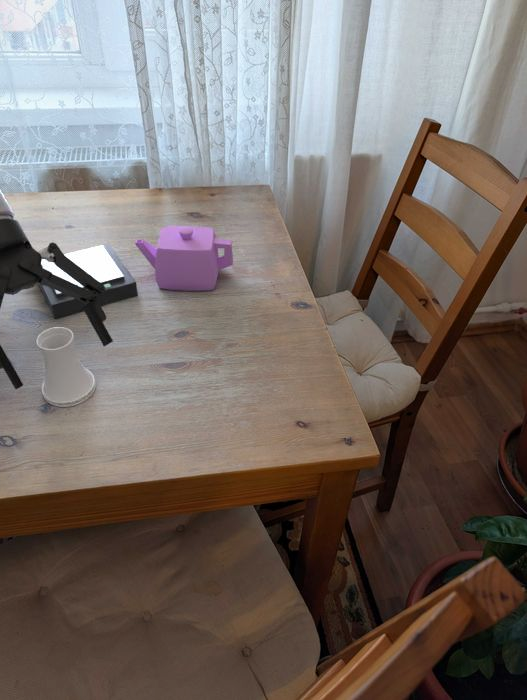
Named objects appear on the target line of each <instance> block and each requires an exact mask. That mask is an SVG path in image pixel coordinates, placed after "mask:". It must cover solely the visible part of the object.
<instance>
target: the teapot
mask: <svg viewBox="0 0 527 700" xmlns="http://www.w3.org/2000/svg"><path fill="white" fill-rule="evenodd" d="M134 245H135V247H137V248H138V250H139V251H140V253H141V254H142V255H143V257H145V259H146V260H147V261H148V263H149V264H150V266H151V267H153V269H154V273H155V281H156V284H157V286H158V288H160V289H162V290H172V291H184V292H186V291H187V292H200V291H205V292H206V291H213V290H215V288H216V284H217V282H218V275H219V271H221V270H222V271H223V270H224V269H226V268H229V267H231V266H233V265H234V255H233V244H232V239H225V238H217V237H216V232H215V229H214V228H212V227H208V226H207V227H205V226H197V225H196V226H195V225H194V226H193V225H165V226H162V227H161V230H160V233H159V237H158V241H157V243H156V248H155V247H154V246H153V245H151V244H150V243H149V242H148V241H145V240H144V238H140V239H136V240H135V242H134ZM219 249H223V255H222V256H220V257H219Z"/></svg>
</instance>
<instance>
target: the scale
mask: <svg viewBox="0 0 527 700" xmlns="http://www.w3.org/2000/svg"><path fill="white" fill-rule="evenodd" d="M63 254H64V255H65V256H66V257H68V258H69V259H70V260H71V261H73V262H74V263H75V264H77V265H78V266H79V267H81V268H82V269H83V270H85V271H86V272H87V273H89V274H90V275H91V276H92V277H94V278H95V279H96V280H98V281H99V282H100V283H102V284H103V285H104V286H105V290H104V291H103V292H102V293H101V294H100V295H99V297H98V302H99V304H100V305H101V307H102V306H106V305H110V304H112V303H115V302H119V301H122V300H127V299H130V298H133V297H138V296H139V294H138V287H137V282H136V280H135V279H134V277H133V275H132V274H131V273H130V271H129V270H128V269H127V267H126V266H125V265H124V263H123V262H122V260H121V259H120V258H119V256H118V255H117V253H116V252H115V250H114V249H113V248H112V247H111V245H110V243H106V244H101V245H97V246H93V247H90V248H85V249H81V250H76V251H73V252H68V253H63ZM41 267H42V268H44V269H46V270H48V271H50V272H51V273H52V274H54V275H56V276H58V277H60V278H63V279H65V280H67V281H69V282H71V283H74V284H76V285H78V286H80V287H82V288H84V289H86V288H85V287H84V286H82V285H81V284H80V283H78V282H77V281H76V280H74V279H73V278H72V277H70V276H69V275H68V274H66V273H65V272H64V271H62V270H61V269H60V268H58V267H57V266H56V265H55V264H54V263H53V262H51V263H50V262H48V261H47V260H45V259H42V261H41ZM37 284H38V287H39V288H40V290H41V293H42V295H43V297H44V299H45V301H46V303H47V305H48V307H49V310H50V311H51V313H52V315H53V317H54V319H55V320H56V319H60V318H63V317H64V318H65V317H66V316H71V315H75V314H78V313H81V312H85V311H84V310H83V307H84V306H85V305H86V303H84V302H82V301H79V300H77V299H75V298H73V297H71V296H68V295H66V294H64V293H62V292H59V291H57V290H55V289H53V288H50V287H48V286H44V285H41V284H39V283H37ZM87 290H88V289H87Z"/></svg>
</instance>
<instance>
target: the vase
mask: <svg viewBox="0 0 527 700" xmlns="http://www.w3.org/2000/svg"><path fill="white" fill-rule="evenodd" d="M35 341H36V345H37V346H38V349H39V350H40V352H41V353H40V354H41V356H42V359H43V361H44V367H45V378H44V380H43V382H42V384H41V393H42V396H43V398H44V400H45V401H46V402H47V403H48V404H50V405H52V406H55V407H57V408H69V407H74V406H77V405H79V404H82V403H83V402H85V401H87V400H88V399H89V398H90V397H92V395H93V394H94V392H95V390H96V386H97V385H96V383H97V382H96V380H95V379H96V378H95V375H94V374H93V373H92V371H90V370H89V369H88V368H86V367H85V366H84V365H83V363H82V361H81V360H80V358H79V355H78V353H77V350H76V346H75V338H74V332H73V331H72V330H71V329H70V328H67V327H63V326H55V327H50V328H47V329H45V330H44V331H43V330H42V331H41V332H40V333H39V335H37V338H36V340H35Z"/></svg>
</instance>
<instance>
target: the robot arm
mask: <svg viewBox="0 0 527 700" xmlns="http://www.w3.org/2000/svg"><path fill="white" fill-rule="evenodd" d="M14 218H15V213H14V211H13V209H12V208H11V206H10V204H9V203H8V201H7V199H6V197H5V196H4V194H3V192H2V190H1V189H0V309H1V308H2V304H3V300H4V297H5V295H11V296H14V295H16V294H19V293H20V292H21V291H24V290H30V289H32V288H34V287H35V286H36V284H38V283H39V284H41V285H44V286H48V287H50V288H53V289H55V290H57V291H59V292H62V293H64V294H66V295H68V296H71V297H73V298H75V299H77V300H79V301H82V302H84V303H86V305H85V306H84V307H83V310H84V311H83V312H84V313H85V315H86V316H87V319H88V321H89V322H90V324H91V327H92V328H93V329H94V331H95V334H96V335H97V337H98V338H99V341H100V342H101V344H102V346H103V347H106V346H108V345H109V344H111V343H112V342H114V340H113V337H111V334H110V332H109V331H108V329H107V328H106V325H105V324H104V322H105V321H106V320H107V314H106V313H105V311H104V309H103V307H102V306H101V305H100V304H99V302H98V297H99V295H100V294H101V293H102V292H103V291H104V290H105V286H104V285H103V284H102V283H100V282H99V281H98V280H96V279H95V278H94V277H92V276H91V275H90V274H89V273H87V272H86V271H85V270H83V269H82V268H81V267H79V266H78V265H77V264H75V263H74V262H73V261H71V260H70V259H69V258H68V257H66V256H65V255H64V254H65V253H63V251H62V249H60V247H59V245H58V244H57V243H55V242H53V241H52V242H49V244H48V246H47V247H44V248H43V249H40V250H38V251H37V250H36V249H35V248H34V247H33V246H32V243H31V242H30V240H29V239H28V236H27V234H26V233H25V231H24V229H23V228H22V226H21V224H20V222H19V221H18V220H17V219H14ZM43 259H45V260H47V261H48V262H50V263H51V262H53V263H54V264H55V265H56V266H57V267H58V268H60V269H61V270H62V271H64V272H65V273H66V274H68V275H69V276H70V277H72V278H73V279H74V280H76V281H77V282H78V283H80V284H81V285H82V286H84V287H85V288H86V289H84V288H82V287H80V286H78V285H76V284H74V283H71V282H69V281H67V280H65V279H63V278H60V277H58V276H56V275H54V274H52V273H51V272H50V271H48V270H46V269H44V268H42V267H41V261H42V260H43ZM39 284H38V285H39ZM87 289H88V290H87ZM1 369H3V370H4V372H5V374H6V376H7V377H8V379H9V381H10V383H11V384H12V386H13V388H14V389H15V390H19V389H20V388H22V387H23V386H24V383H23V382H22V379H21V378H20V376H19V374H18V373H17V371H16V370H15V367H14V365H13V364H12V362H11V361H10V358H9V357H8V355H7V353H6V352H5V350H4V348H3V346H2V345H1V344H0V370H1Z"/></svg>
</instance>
